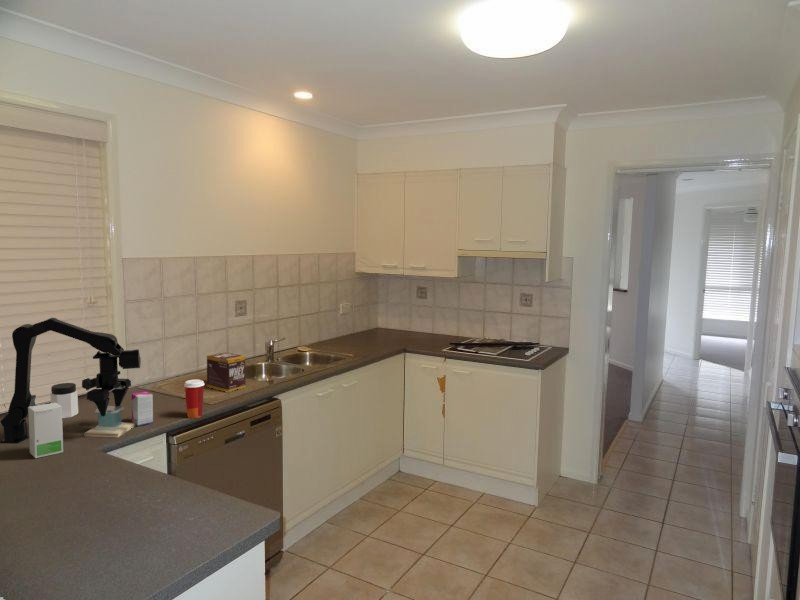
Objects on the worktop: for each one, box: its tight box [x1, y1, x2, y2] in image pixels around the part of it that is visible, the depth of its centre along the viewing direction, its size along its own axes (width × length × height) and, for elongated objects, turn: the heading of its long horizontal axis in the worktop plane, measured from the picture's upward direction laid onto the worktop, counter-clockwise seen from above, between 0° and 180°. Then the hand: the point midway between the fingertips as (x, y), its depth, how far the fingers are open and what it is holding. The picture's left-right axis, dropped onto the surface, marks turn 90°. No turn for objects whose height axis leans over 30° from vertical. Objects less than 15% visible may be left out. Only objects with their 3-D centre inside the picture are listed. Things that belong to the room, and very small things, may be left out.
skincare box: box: [28, 402, 64, 459], centre depth 175 cm, size 8×7×16 cm
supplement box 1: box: [131, 391, 154, 427], centre depth 204 cm, size 6×6×12 cm
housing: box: [94, 405, 125, 430], centre depth 196 cm, size 8×5×7 cm, turn 88°
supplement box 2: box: [206, 351, 247, 392], centre depth 254 cm, size 10×15×16 cm
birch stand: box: [83, 421, 136, 438], centre depth 196 cm, size 12×12×1 cm
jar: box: [50, 382, 79, 419], centre depth 211 cm, size 9×8×12 cm
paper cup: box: [183, 379, 206, 419], centre depth 214 cm, size 8×8×14 cm
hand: (110, 411), depth 196 cm, fingers open, 9 cm apart
